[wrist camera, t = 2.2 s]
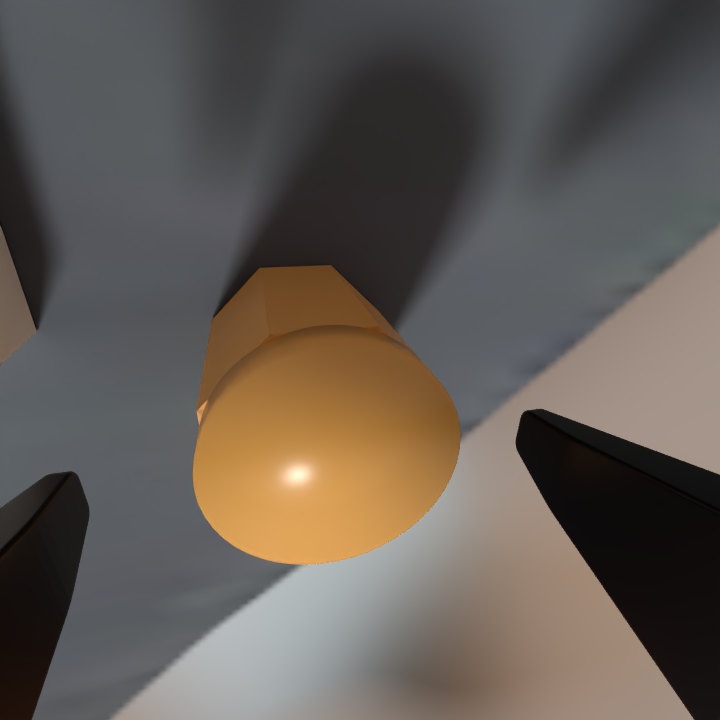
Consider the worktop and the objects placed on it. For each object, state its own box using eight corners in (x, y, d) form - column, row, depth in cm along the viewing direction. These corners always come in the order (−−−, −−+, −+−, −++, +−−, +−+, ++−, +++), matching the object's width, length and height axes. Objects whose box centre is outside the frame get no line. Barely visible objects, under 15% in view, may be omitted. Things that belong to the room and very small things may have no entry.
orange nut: (375, 405, 15) (445, 539, 10) (224, 423, 14) (213, 585, 9) (381, 259, 13) (477, 334, 8) (200, 266, 12) (168, 360, 6)
